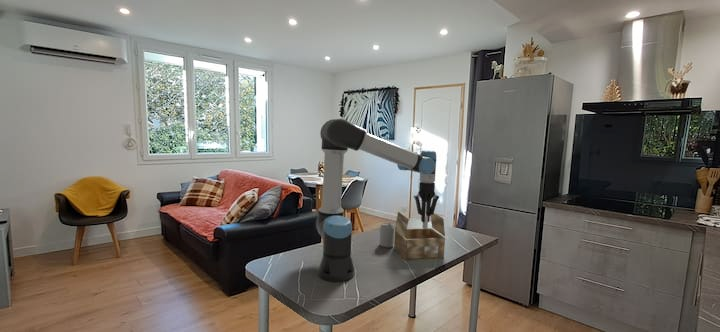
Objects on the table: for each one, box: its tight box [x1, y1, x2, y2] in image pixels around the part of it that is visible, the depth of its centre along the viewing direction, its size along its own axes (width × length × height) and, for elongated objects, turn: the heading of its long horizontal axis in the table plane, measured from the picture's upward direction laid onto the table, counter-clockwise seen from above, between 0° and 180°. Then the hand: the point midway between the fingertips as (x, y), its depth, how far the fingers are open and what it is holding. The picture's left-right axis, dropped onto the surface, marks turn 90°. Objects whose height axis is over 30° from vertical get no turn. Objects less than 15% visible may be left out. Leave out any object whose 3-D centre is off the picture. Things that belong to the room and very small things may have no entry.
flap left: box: [394, 211, 410, 238], centre depth 157 cm, size 9×14×1 cm
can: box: [379, 221, 395, 248], centre depth 169 cm, size 8×8×12 cm
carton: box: [393, 227, 446, 261], centre depth 160 cm, size 20×17×10 cm
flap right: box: [430, 212, 446, 237], centre depth 161 cm, size 9×14×1 cm
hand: (424, 228), depth 160 cm, fingers closed
